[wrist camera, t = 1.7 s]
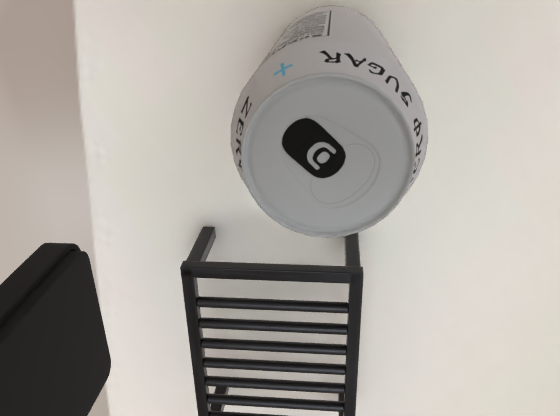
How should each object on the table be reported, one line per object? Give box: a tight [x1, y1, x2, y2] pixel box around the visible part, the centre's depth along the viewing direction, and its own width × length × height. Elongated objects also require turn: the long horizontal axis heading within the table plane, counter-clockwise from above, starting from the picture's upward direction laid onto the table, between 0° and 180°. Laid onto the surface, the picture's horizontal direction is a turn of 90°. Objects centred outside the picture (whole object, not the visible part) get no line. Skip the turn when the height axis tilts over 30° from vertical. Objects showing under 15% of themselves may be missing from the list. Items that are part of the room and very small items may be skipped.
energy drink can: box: [231, 6, 428, 238], centre depth 21 cm, size 6×6×15 cm
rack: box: [180, 227, 363, 416], centre depth 33 cm, size 14×10×5 cm
